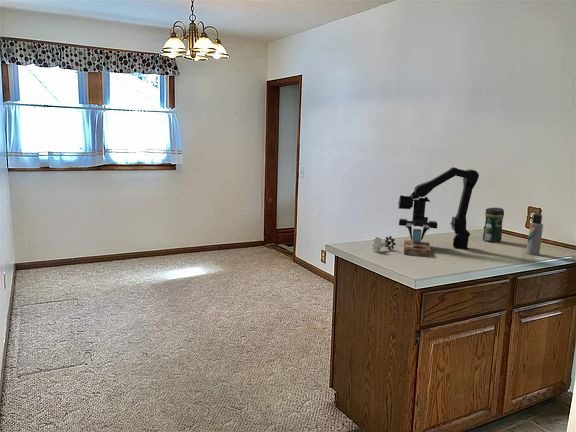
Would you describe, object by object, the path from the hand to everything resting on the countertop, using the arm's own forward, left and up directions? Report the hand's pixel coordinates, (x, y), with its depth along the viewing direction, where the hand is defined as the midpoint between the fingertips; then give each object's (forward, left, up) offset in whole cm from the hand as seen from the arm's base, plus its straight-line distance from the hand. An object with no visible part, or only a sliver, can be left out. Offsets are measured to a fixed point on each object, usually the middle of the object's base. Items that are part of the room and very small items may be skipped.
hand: (416, 240), depth 245 cm
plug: (0, 0, -3) cm, 3 cm away
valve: (+16, +21, -3) cm, 26 cm away
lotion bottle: (-56, -4, -3) cm, 56 cm away
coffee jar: (-41, -29, -3) cm, 50 cm away
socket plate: (0, +15, -2) cm, 15 cm away
